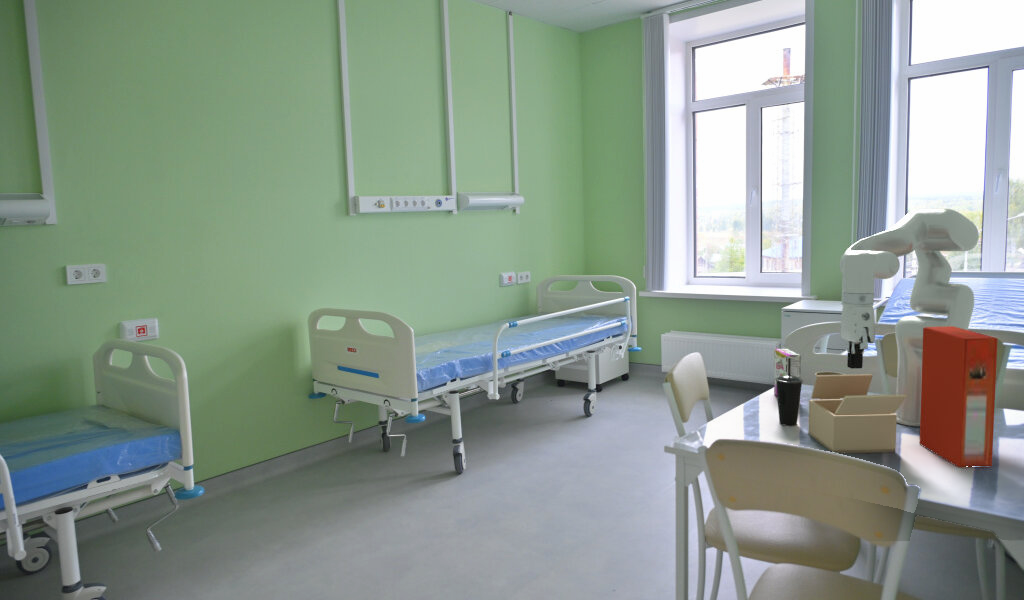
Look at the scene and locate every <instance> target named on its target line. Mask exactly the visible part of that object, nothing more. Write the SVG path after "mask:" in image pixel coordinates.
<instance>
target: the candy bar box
mask: <svg viewBox="0 0 1024 600" xmlns="http://www.w3.org/2000/svg"><path fill="white" fill-rule="evenodd" d="M773 354H774V355H773V356H774V357H773V358H774V361H773V362H774V363H773V364H774V366H773V367H774V372H773V373H774V377H773V379H774V380H773V381H774V382H773V383H774V384H773V387H774V390H773V395H774V396H776V397H777V398H778V396H777V383H776V380H775V378H776V377H779V376H782V375H788V358H791V369H790V375H794V376H797V377H799V378H801V357H802V356H801V354H799V353H797V352H795V351H793V350H791V349H789V348H774V352H773ZM800 403H801V401H800V402H799V404H800Z"/></svg>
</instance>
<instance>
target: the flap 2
mask: <svg viewBox="0 0 1024 600" xmlns="http://www.w3.org/2000/svg"><path fill="white" fill-rule="evenodd" d="M906 397H907V396H906V395H897V394H871V395H868V394H867V395H858V396H845V397H844V398H842V399H843V400H842V402H841V403H840V405H839V407H838V408H837V410H836V412H835V414H886V413H895V412H896V411H897V409H898V408H899V406H900V405H901V404H902V402H903V401H904V400H905V398H906Z"/></svg>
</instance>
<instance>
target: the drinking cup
mask: <svg viewBox="0 0 1024 600" xmlns="http://www.w3.org/2000/svg"><path fill="white" fill-rule="evenodd" d="M790 369H791V358H788V375H782V376H779V377H776V378H775V380H776V383H777V396H778V397H777V396H776V397H777V408H778V409H777V410H778V417H779V418H778V419H779V420H778V421H779V424H780V425H783V426H786V427H787V426H788V427H792V426H794V427H795V426H797V425H798V418H799V417H798V416H799V409H800V408H799V407H800V403H801V391H802V386H803V385H802V384H803V383H804V380H803V378H801V377H800V378H799V377H797V376H794V375H790ZM799 402H800V403H799Z"/></svg>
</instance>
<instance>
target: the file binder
mask: <svg viewBox="0 0 1024 600" xmlns="http://www.w3.org/2000/svg"><path fill="white" fill-rule="evenodd" d="M997 357H998V337H996V336H995V337H994V336H991V335H988V334H983V333H979V332H976V331H973V330H969V329H968V330H965V329H961V328H957V327H954V326H948V327H925V328H923V352H922V383H921V415H920V427H919V444H920V445H921V444H922V445H923V446H922V445H921V446H922V447H924V446H925V447H924V448H926V449H927V448H928V450H929V449H930V450H929V451H931V450H932V451H933V453H934V452H935V453H934V454H936V453H937V454H938V455H937V454H936V455H937V456H939V455H940V456H939V457H941V456H942V457H943V458H942V457H941V458H942V459H944V458H945V459H944V460H946V459H947V460H948V461H947V460H946V461H947V462H949V461H950V462H949V463H951V462H952V463H953V464H952V463H951V464H952V465H954V464H955V465H954V466H956V465H957V466H958V467H957V466H956V467H957V468H959V467H966V466H968V467H972V466H990V467H992V466H993V451H994V449H993V446H994V445H993V444H994V429H995V428H994V425H995V404H996V403H995V401H996V381H997V379H996V377H997V360H998V359H997ZM932 451H931V452H932Z"/></svg>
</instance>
